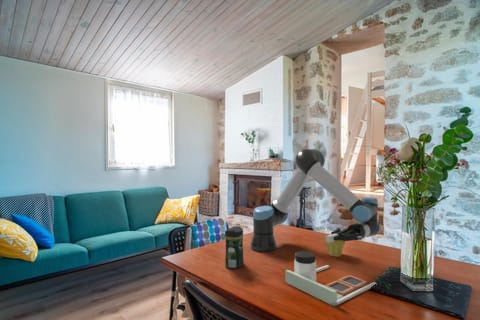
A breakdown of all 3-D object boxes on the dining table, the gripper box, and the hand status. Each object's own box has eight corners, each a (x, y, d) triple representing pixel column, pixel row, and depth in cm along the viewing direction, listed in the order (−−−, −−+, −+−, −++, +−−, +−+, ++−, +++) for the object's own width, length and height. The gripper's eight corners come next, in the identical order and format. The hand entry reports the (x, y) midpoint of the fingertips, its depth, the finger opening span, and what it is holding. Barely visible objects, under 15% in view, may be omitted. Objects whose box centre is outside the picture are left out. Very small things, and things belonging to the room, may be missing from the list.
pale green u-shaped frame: (327, 267, 135) (327, 256, 135) (376, 285, 116) (376, 272, 116) (285, 282, 119) (285, 270, 119) (334, 306, 100) (334, 292, 100)
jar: (319, 286, 115) (319, 256, 115) (301, 288, 113) (301, 258, 113) (308, 277, 124) (308, 250, 124) (291, 279, 122) (291, 251, 122)
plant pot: (342, 251, 157) (342, 234, 157) (347, 258, 147) (347, 239, 147) (323, 251, 158) (323, 233, 158) (327, 257, 148) (327, 239, 148)
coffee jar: (231, 260, 144) (230, 224, 144) (245, 263, 141) (245, 225, 141) (222, 267, 135) (222, 229, 135) (237, 270, 132) (237, 230, 132)
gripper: (370, 242, 132) (340, 252, 119) (346, 235, 143) (315, 243, 129) (371, 226, 132) (340, 234, 118) (346, 220, 143) (315, 227, 129)
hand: (327, 239), depth 124 cm, fingers closed
